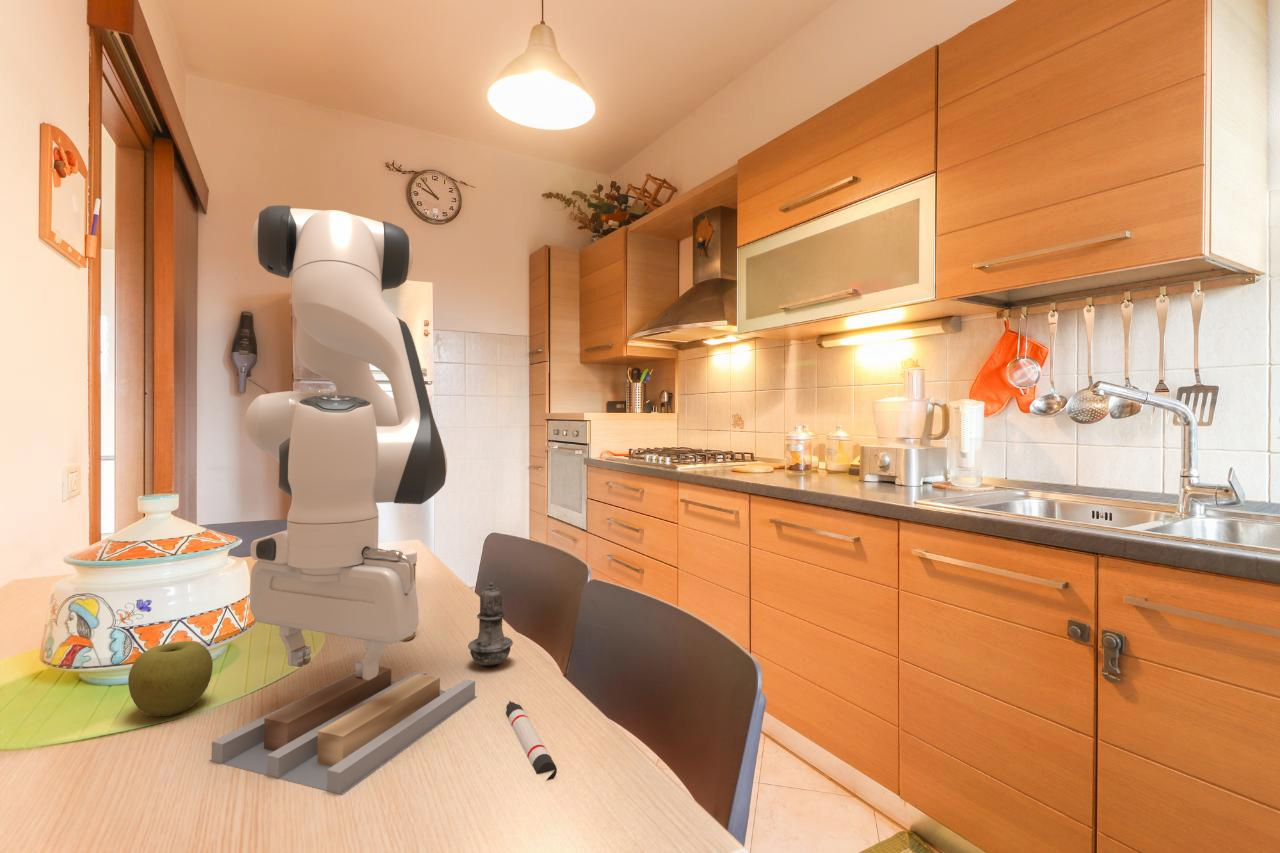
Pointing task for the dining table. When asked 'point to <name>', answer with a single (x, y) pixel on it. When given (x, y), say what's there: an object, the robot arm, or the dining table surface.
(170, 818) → the dining table surface
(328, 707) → the walnut rod
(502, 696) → the dining table surface
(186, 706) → the apple
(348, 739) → the oak rod
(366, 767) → the slot board
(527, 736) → the marker
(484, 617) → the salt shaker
